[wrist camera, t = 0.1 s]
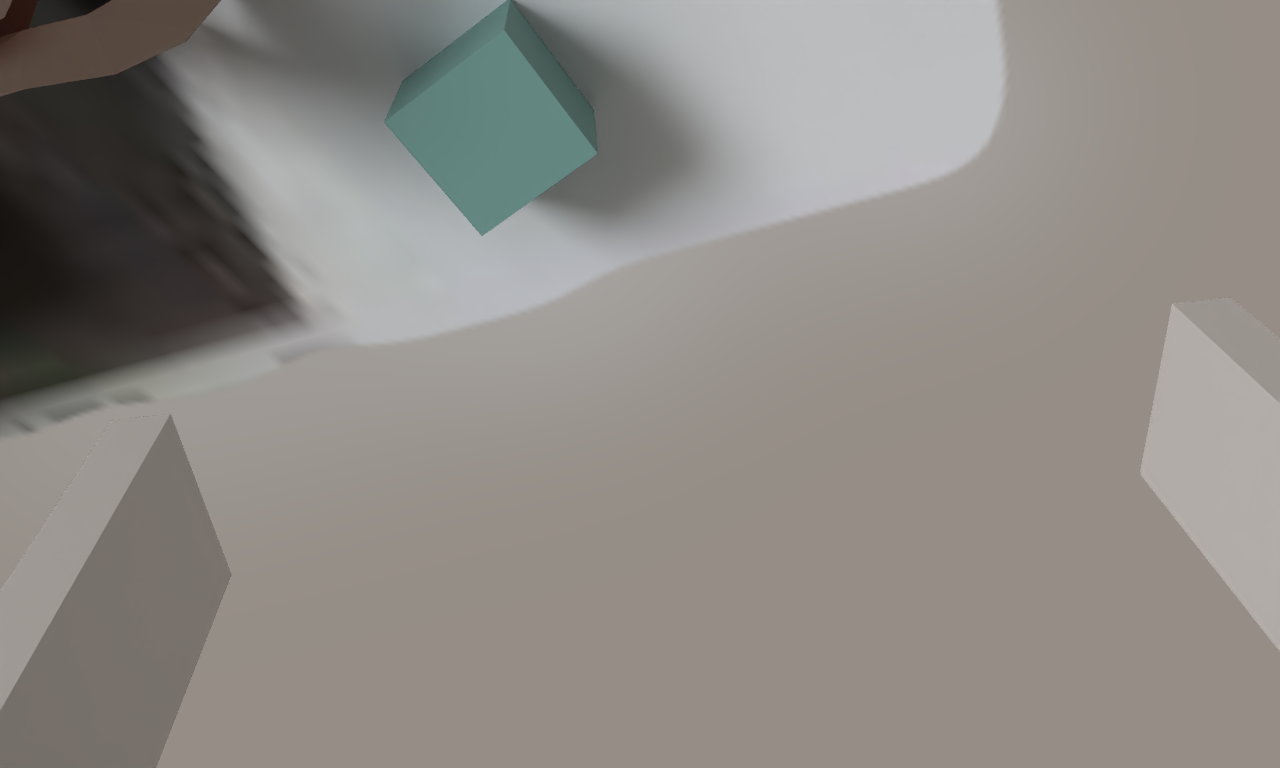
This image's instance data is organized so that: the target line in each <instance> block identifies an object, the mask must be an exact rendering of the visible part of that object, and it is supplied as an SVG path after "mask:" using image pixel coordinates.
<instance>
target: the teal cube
mask: <svg viewBox="0 0 1280 768" xmlns="http://www.w3.org/2000/svg"><path fill="white" fill-rule="evenodd" d="M384 123H385V124H386V125H387V126H388V127H389V128H390V130H391V131H392V132H393V133H394V134H395V135H396V137H397V138H398V139H399V140H400V141H401V142H402V144H403V145H404V146H405V147H406V148H407V149H408V151H409V152H410V153H411V154H412V155H413V156H414V157H415V159H416V160H417V161H418V162H419V163H420V164H421V166H422V167H423V168H424V169H425V170H426V171H427V173H428V174H429V175H430V176H431V177H432V178H433V180H434V181H435V182H436V183H437V184H438V185H439V187H440V188H441V189H442V190H443V191H444V192H445V194H446V195H447V196H448V197H449V198H450V199H451V201H452V202H453V203H454V204H455V205H456V206H457V208H458V209H459V210H460V211H461V212H462V213H463V215H464V216H465V217H466V218H467V219H468V220H469V222H470V223H471V224H472V225H473V226H474V227H475V229H476V230H477V231H478V232H479V233H480V234H481V236H483V235H484V234H485V233H487V232H488V231H490V230H491V229H492V228H494V227H495V226H497V225H498V224H499V223H501V222H502V221H504V220H505V219H506V218H508V217H509V216H511V215H512V214H514V213H515V212H516V211H518V210H519V209H521V208H522V207H523V206H525V205H526V204H528V203H529V202H530V201H532V200H533V199H535V198H536V197H537V196H539V195H540V194H542V193H543V192H544V191H546V190H547V189H549V188H550V187H552V186H553V185H554V184H556V183H557V182H559V181H560V180H561V179H563V178H564V177H566V176H567V175H568V174H570V173H571V172H573V171H574V170H575V169H577V168H578V167H580V166H581V165H582V164H584V163H585V162H587V161H588V160H590V159H591V158H592V157H594V156H595V155H597V154H598V151H597V140H596V129H595V118H594V110H593V109H592V107H591V106H590V105H589V103H588V102H587V101H586V99H585V98H584V97H583V95H582V94H581V93H580V91H579V90H578V88H577V87H576V86H575V84H574V83H573V82H572V80H571V79H570V78H569V76H568V75H567V74H566V72H565V71H564V70H563V68H562V67H561V66H560V64H559V63H558V62H557V60H556V59H555V58H554V56H553V55H552V53H551V52H550V51H549V49H548V48H547V47H546V45H545V44H544V43H543V41H542V40H541V39H540V37H539V36H538V35H537V33H536V32H535V31H534V29H533V28H532V27H531V25H530V24H529V23H528V21H527V20H526V19H525V17H524V16H523V14H522V13H521V12H520V10H519V9H518V8H517V6H516V5H515V4H514V2H513V1H512V0H507V1H506V2H504V3H503V4H502V5H501V6H499V7H498V8H497V9H495V10H494V11H493V12H492V13H490V14H489V15H488V16H486V17H485V18H484V19H483V20H481V21H480V22H479V23H477V24H476V25H475V26H473V27H472V28H471V29H470V30H468V31H467V32H466V33H464V34H463V35H462V36H461V37H459V38H458V39H457V40H455V41H454V42H453V43H452V44H450V45H449V46H448V47H446V48H445V49H444V50H443V51H441V52H440V53H439V54H437V55H436V56H435V57H433V58H432V59H431V60H430V61H428V62H427V63H426V64H424V65H423V66H422V67H421V68H419V69H418V70H417V71H415V72H414V73H413V74H412V75H410V76H409V77H408V78H406V79H405V80H404V81H403V82H402V84H401V86H400V89H399V91H398V93H397V95H396V97H395V99H394V102H393V104H392V106H391V108H390V110H389V113H388V115H387V117H386V119H385V121H384Z"/></svg>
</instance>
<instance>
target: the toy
mask: <svg viewBox="0 0 1280 768" xmlns="http://www.w3.org/2000/svg"><path fill="white" fill-rule="evenodd" d="M220 1H221V0H111V1H109V2H108V3H106V4H104V5H103V6H101V7H99V8H97V9H96V10H94V11H92V12H91V13H89V14H87V15H83V16H79V17H75V18H71V19H67V20H62V21H58V22H54V23H50V24H46V25H41V26H37V27H33V28H29V27H30V23H31V20H32V17H33V14H34V11H35V8H36V5H37V2H38V0H0V96H3V95H7V94H10V93H13V92H17V91H20V90H24V89H28V88H34V87H40V86H47V85H53V84H59V83H65V82H71V81H78V80H84V79H90V78H96V77H102V76H108V75H115V74H117V73H119V72H121V71H123V70H126V69H128V68H130V67H132V66H134V65H136V64H139V63H141V62H143V61H145V60H147V59H149V58H151V57H154V56H156V55H158V54H160V53H162V52H164V51H166V50H169V49H171V48H173V47H175V46H177V45H179V44H181V43H184V42H186V41H187V40H188V39H189V37H190V36H191V35H192V34H193V33H194V31H195V30H196V29H197V28H198V27H199V26H200V24H201V23H202V22H203V21H204V20H205V18H206V17H207V16H208V15H209V14H210V12H211V11H212V10H213V9H214V8H215V7H216V5H217V4H218V3H219V2H220Z"/></svg>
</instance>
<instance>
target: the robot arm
mask: <svg viewBox="0 0 1280 768" xmlns="http://www.w3.org/2000/svg"><path fill="white" fill-rule="evenodd" d="M1140 474H1141V476H1142V477H1143V478H1144V479H1145V481H1146V482H1147V483H1148V485H1149V486H1150V487H1151V488H1152V490H1153V491H1154V492H1155V493H1156V495H1157V496H1158V497H1159V499H1160V500H1161V501H1162V502H1163V504H1164V505H1165V506H1166V507H1167V509H1168V510H1169V511H1170V513H1171V514H1172V515H1173V516H1174V518H1175V519H1176V520H1177V521H1178V523H1179V524H1180V525H1181V526H1182V528H1183V529H1184V530H1185V531H1186V533H1187V534H1188V535H1189V537H1190V538H1191V539H1192V541H1193V542H1194V543H1195V544H1196V546H1197V547H1198V548H1199V549H1200V551H1201V552H1202V553H1203V554H1204V555H1205V557H1206V558H1207V560H1208V561H1209V562H1210V563H1211V565H1212V566H1213V567H1214V568H1215V570H1216V571H1217V572H1218V574H1219V575H1220V576H1221V577H1222V579H1223V580H1224V581H1225V583H1226V584H1227V585H1228V586H1229V588H1230V589H1231V590H1232V591H1233V592H1234V594H1235V595H1236V596H1237V598H1238V599H1239V600H1240V602H1241V603H1242V604H1243V605H1244V607H1245V608H1246V609H1247V610H1248V612H1249V613H1250V614H1251V615H1252V617H1253V618H1254V619H1255V621H1256V622H1257V623H1258V624H1259V626H1260V627H1261V628H1262V630H1263V631H1264V632H1265V633H1266V635H1267V636H1268V637H1269V638H1270V640H1271V641H1272V642H1273V644H1274V645H1275V646H1276V647H1277V649H1278V650H1279V651H1280V339H1279V338H1278V337H1277V336H1276V335H1275V334H1273V333H1272V332H1271V331H1270V330H1269V329H1267V328H1266V327H1265V326H1264V325H1263V324H1261V323H1260V322H1259V321H1258V320H1257V319H1255V318H1254V317H1253V316H1252V315H1251V314H1250V313H1248V312H1247V311H1246V310H1245V309H1244V308H1242V307H1241V306H1240V305H1239V304H1237V303H1236V302H1235V301H1234V300H1233V299H1232V298H1230V297H1228V298H1219V299H1210V300H1201V301H1192V302H1183V303H1174V304H1172V308H1171V313H1170V318H1169V323H1168V329H1167V334H1166V339H1165V344H1164V350H1163V355H1162V360H1161V365H1160V371H1159V376H1158V381H1157V387H1156V392H1155V397H1154V403H1153V408H1152V413H1151V418H1150V423H1149V429H1148V434H1147V440H1146V445H1145V450H1144V455H1143V460H1142V466H1141V471H1140ZM230 577H231V572H230V569H229V567H228V564H227V561H226V559H225V556H224V554H223V551H222V548H221V546H220V543H219V540H218V538H217V535H216V532H215V530H214V528H213V525H212V522H211V520H210V517H209V514H208V511H207V509H206V506H205V503H204V501H203V498H202V496H201V493H200V491H199V488H198V485H197V482H196V480H195V477H194V474H193V472H192V469H191V466H190V464H189V461H188V459H187V456H186V454H185V451H184V448H183V445H182V443H181V440H180V438H179V435H178V432H177V430H176V427H175V424H174V422H173V419H172V416H171V414H163V415H154V416H145V417H136V418H127V419H117V420H111V422H110V423H109V425H108V426H107V428H106V429H105V431H104V433H103V434H102V435H101V437H100V439H99V440H98V442H97V443H96V445H95V446H94V448H93V449H92V451H91V453H90V454H89V455H88V457H87V459H86V460H85V461H84V463H83V465H82V466H81V468H80V469H79V471H78V472H77V474H76V475H75V477H74V478H73V480H72V481H71V483H70V484H69V486H68V487H67V489H66V490H65V492H64V494H63V495H62V497H61V498H60V500H59V501H58V503H57V504H56V506H55V508H54V509H53V510H52V512H51V514H50V515H49V517H48V518H47V520H46V521H45V523H44V524H43V526H42V527H41V529H40V530H39V532H38V533H37V535H36V536H35V538H34V539H33V541H32V543H31V544H30V546H29V547H28V549H27V550H26V552H25V553H24V555H23V556H22V558H21V559H20V561H19V562H18V564H17V565H16V567H15V569H14V570H13V572H12V573H11V575H10V576H9V578H8V579H7V581H6V582H5V584H4V586H3V587H2V588H1V590H0V768H156V766H157V764H158V761H159V759H160V756H161V753H162V751H163V748H164V745H165V743H166V741H167V738H168V735H169V733H170V730H171V728H172V725H173V723H174V720H175V718H176V715H177V713H178V710H179V707H180V705H181V702H182V700H183V697H184V694H185V692H186V689H187V687H188V684H189V682H190V679H191V677H192V674H193V672H194V669H195V666H196V664H197V661H198V659H199V656H200V654H201V651H202V649H203V646H204V643H205V641H206V638H207V636H208V633H209V631H210V628H211V626H212V623H213V621H214V618H215V615H216V613H217V610H218V608H219V605H220V602H221V600H222V598H223V595H224V592H225V590H226V587H227V585H228V582H229V580H230Z"/></svg>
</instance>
